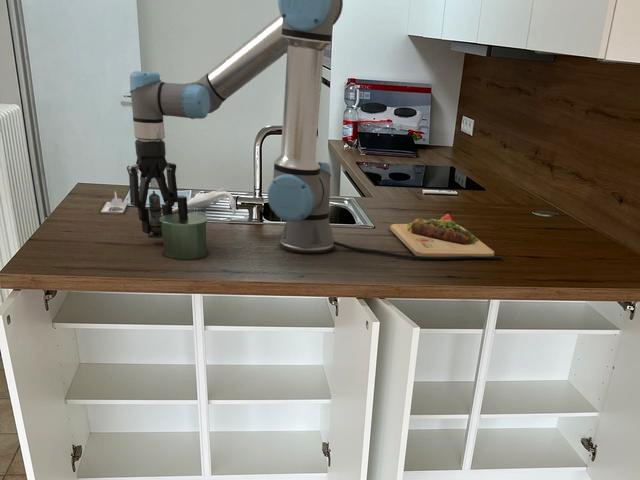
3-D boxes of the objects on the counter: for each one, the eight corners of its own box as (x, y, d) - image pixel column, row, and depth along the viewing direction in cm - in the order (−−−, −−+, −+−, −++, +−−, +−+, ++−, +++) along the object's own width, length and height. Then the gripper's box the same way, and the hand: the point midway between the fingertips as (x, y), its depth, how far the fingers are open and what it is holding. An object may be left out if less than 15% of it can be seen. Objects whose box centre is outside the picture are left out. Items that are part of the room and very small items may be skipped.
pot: (212, 250, 203) (211, 218, 199) (198, 261, 194) (196, 227, 189) (173, 246, 204) (171, 214, 200) (157, 256, 195) (154, 223, 191)
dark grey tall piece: (145, 233, 207) (141, 188, 200) (167, 233, 208) (164, 188, 202) (147, 238, 202) (143, 192, 196) (169, 238, 204) (166, 192, 197)
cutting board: (388, 229, 236) (390, 204, 233) (458, 230, 241) (461, 206, 237) (417, 259, 207) (419, 231, 203) (496, 259, 212) (500, 232, 208)
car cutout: (107, 203, 246) (105, 188, 243) (127, 203, 247) (126, 189, 245) (100, 213, 233) (99, 198, 231) (122, 213, 234) (121, 198, 232)
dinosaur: (161, 232, 251) (166, 235, 236) (152, 206, 247) (156, 208, 233) (231, 210, 255) (240, 212, 241) (223, 184, 251) (231, 184, 237)
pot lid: (213, 220, 199) (212, 194, 196) (197, 230, 189) (196, 203, 186) (170, 216, 201) (168, 190, 197) (152, 226, 191) (149, 198, 187)
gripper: (173, 136, 201) (178, 224, 213) (109, 139, 189) (118, 232, 201) (189, 139, 196) (194, 230, 208) (124, 143, 184) (133, 238, 196)
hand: (157, 231), depth 204 cm, fingers closed on dark grey tall piece, 6 cm apart
